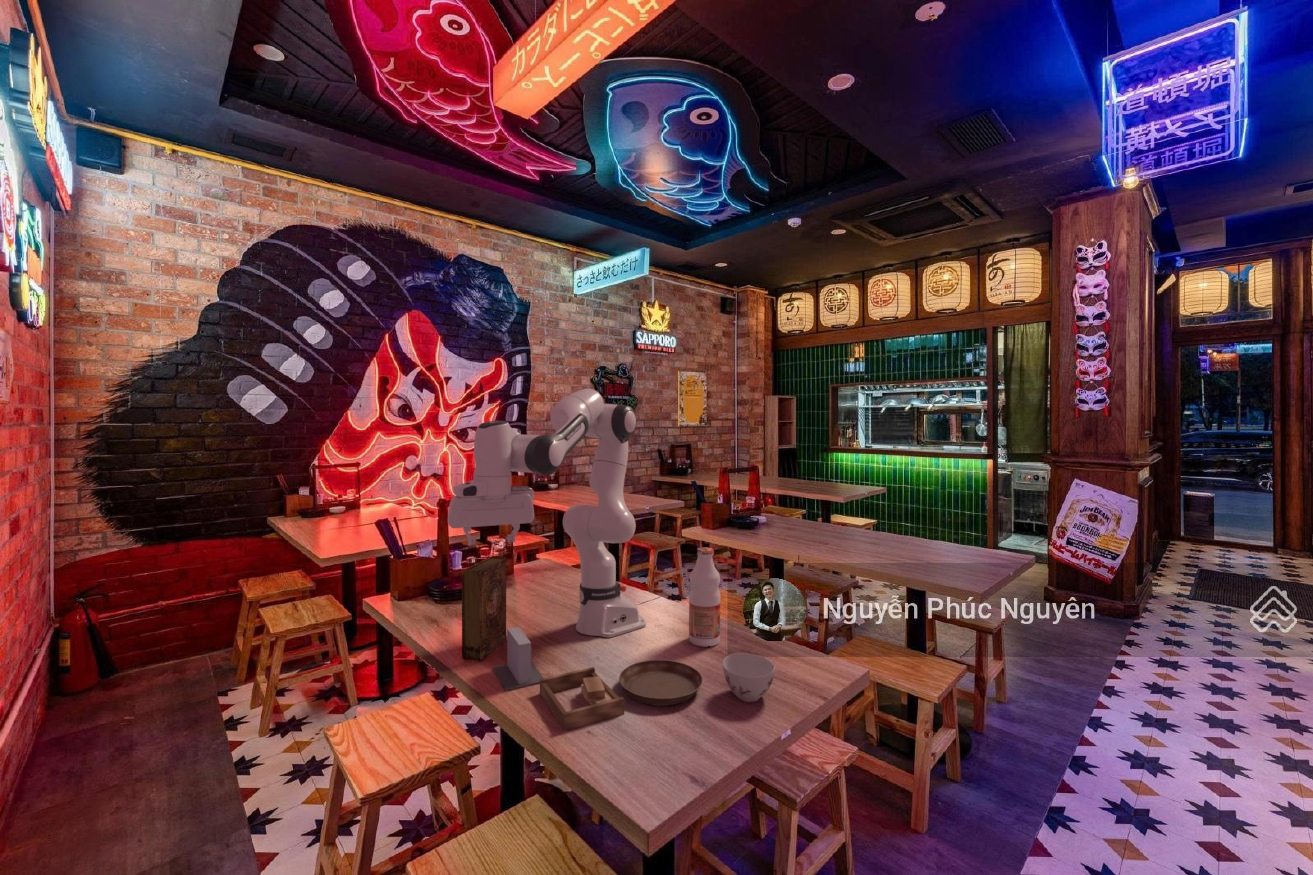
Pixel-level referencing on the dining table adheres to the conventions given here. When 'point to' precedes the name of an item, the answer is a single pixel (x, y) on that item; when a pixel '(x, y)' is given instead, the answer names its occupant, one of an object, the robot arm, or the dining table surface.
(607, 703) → the brown open frame piece
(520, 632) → the block
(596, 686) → the offcut short
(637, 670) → the plant saucer
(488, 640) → the book
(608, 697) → the block
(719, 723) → the dining table surface
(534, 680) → the mat
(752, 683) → the teacup
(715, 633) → the fruit juice
